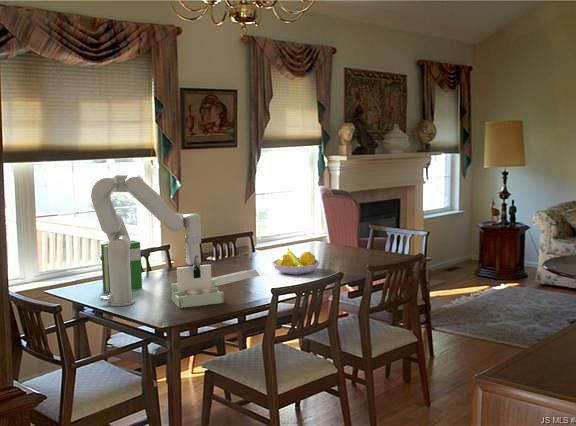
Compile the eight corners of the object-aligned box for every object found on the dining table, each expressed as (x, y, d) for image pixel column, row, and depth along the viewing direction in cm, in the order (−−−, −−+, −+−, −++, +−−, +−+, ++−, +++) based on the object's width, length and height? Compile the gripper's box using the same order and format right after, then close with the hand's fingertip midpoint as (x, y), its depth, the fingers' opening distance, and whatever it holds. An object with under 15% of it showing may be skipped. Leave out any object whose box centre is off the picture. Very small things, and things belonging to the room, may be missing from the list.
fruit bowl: (321, 276, 362) (320, 256, 361) (271, 277, 363) (270, 256, 361) (319, 266, 390) (319, 247, 389) (273, 267, 391) (272, 247, 389)
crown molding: (245, 274, 375) (245, 267, 375) (260, 277, 367) (260, 270, 367) (202, 283, 353) (201, 277, 352) (217, 287, 345) (217, 280, 344)
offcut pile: (188, 306, 306) (188, 293, 305) (184, 303, 311) (184, 290, 310) (213, 303, 311) (213, 290, 310) (209, 300, 316) (209, 287, 316)
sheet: (179, 301, 314) (177, 268, 312) (178, 300, 315) (176, 267, 314) (211, 298, 320) (210, 265, 318) (210, 297, 322) (209, 264, 320)
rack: (179, 307, 303) (178, 290, 302) (171, 300, 316) (171, 283, 315) (223, 302, 311) (223, 285, 310) (214, 295, 324) (214, 279, 323)
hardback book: (109, 294, 331) (107, 246, 328) (103, 291, 337) (100, 244, 334) (142, 288, 342) (140, 242, 339) (135, 285, 348) (133, 240, 345)
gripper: (180, 238, 321) (182, 273, 323) (190, 243, 305) (191, 280, 307) (195, 236, 324) (197, 271, 326) (205, 242, 308) (207, 278, 310)
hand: (194, 275), depth 316 cm, fingers open, 9 cm apart
